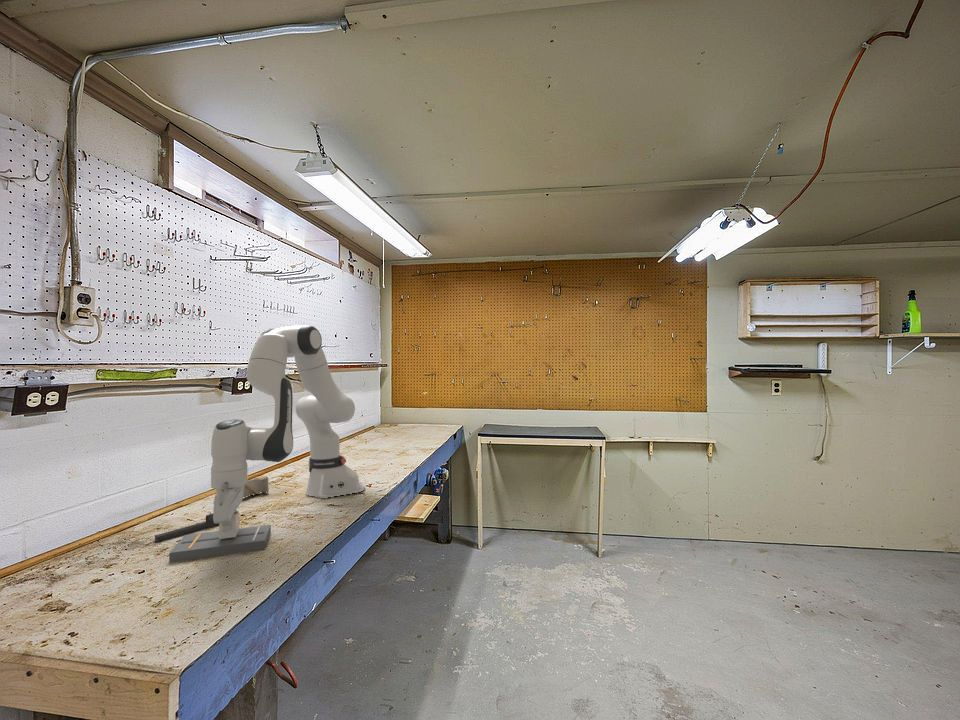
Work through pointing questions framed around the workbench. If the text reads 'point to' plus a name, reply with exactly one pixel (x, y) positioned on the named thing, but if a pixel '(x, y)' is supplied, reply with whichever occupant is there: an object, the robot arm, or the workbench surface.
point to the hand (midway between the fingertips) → (229, 527)
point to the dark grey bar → (187, 529)
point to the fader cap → (234, 527)
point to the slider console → (220, 544)
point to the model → (256, 486)
